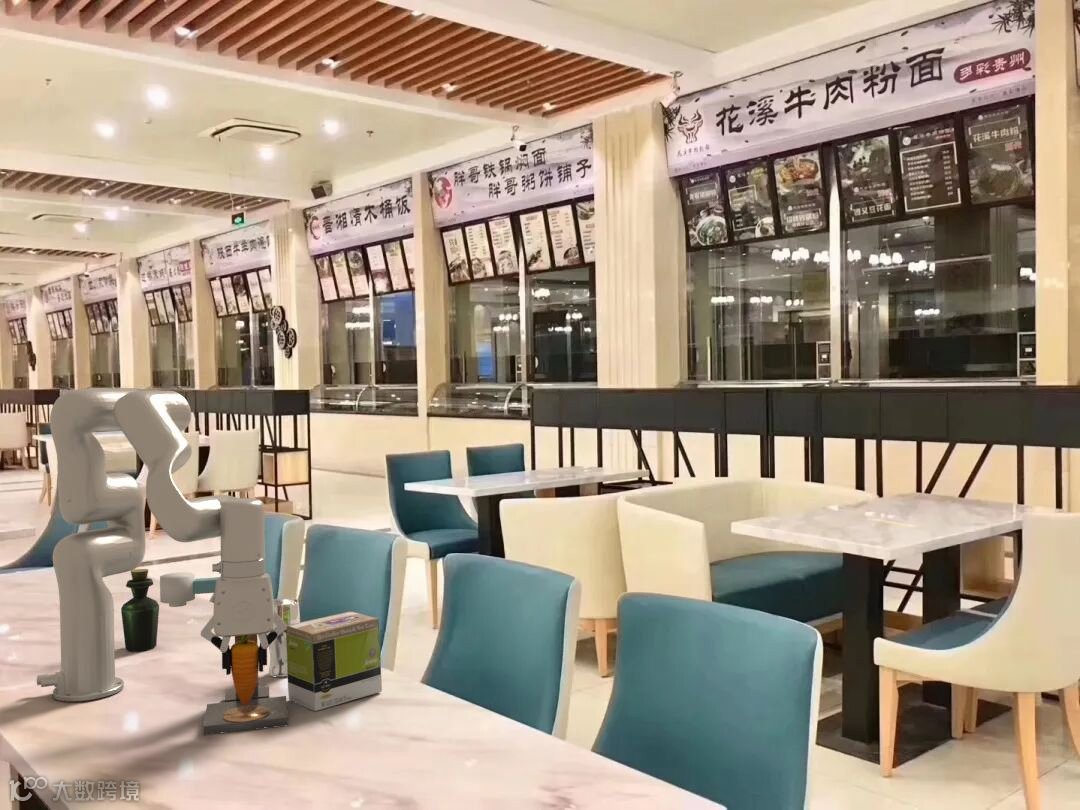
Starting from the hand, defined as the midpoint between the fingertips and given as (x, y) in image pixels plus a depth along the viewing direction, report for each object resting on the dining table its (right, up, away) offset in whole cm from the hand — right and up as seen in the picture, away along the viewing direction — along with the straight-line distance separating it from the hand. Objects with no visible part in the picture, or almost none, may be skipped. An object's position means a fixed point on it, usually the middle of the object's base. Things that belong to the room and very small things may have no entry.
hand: (245, 670), depth 165 cm
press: (-1, -9, +5) cm, 11 cm away
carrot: (0, -7, 0) cm, 7 cm away
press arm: (-9, +10, +9) cm, 17 cm away
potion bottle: (-40, -9, +50) cm, 64 cm away
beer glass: (-1, -9, +29) cm, 30 cm away
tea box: (+13, -9, +13) cm, 21 cm away
